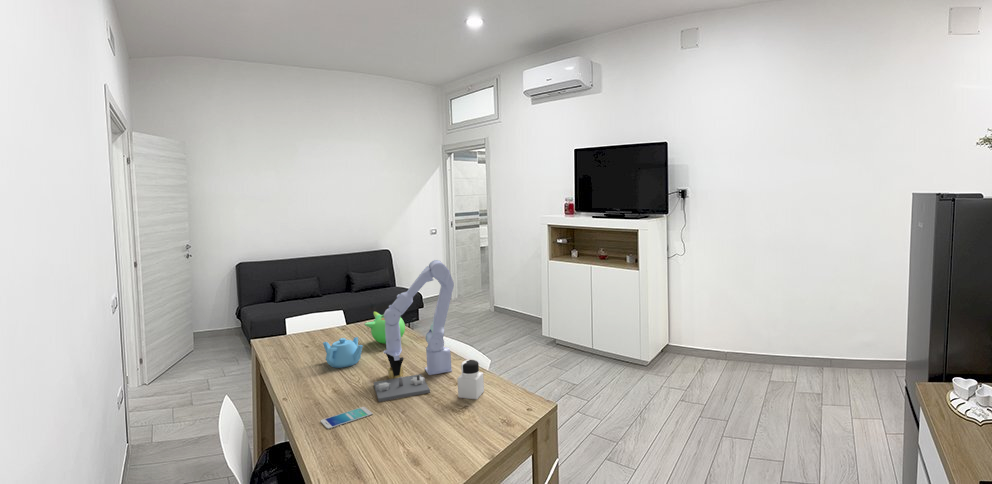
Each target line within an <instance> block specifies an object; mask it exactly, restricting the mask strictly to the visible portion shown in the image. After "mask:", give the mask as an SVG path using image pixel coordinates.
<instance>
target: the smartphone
mask: <svg viewBox="0 0 992 484" xmlns="http://www.w3.org/2000/svg"><path fill="white" fill-rule="evenodd" d="M367 416H368V417H370V416H373V411H370V410H369V409H368V408H367V407H366V406H361V407H357V408H353V409H351V410H348V411H344V412H341V413H339V414H336V415H332V416H329V417H325V418H323V419H321V420H320V422H321V423H322V424H323V425H324V426H325V427H326V428H327V429H329V430H331V428H332V429H334V427H335V428H338V427H337V426H339V427H341V426H340V425H342V426H344V424H345V425H347V424H349V423H353V422H356V421H359V420H362V419H364V417H365V418H367ZM361 418H362V419H361ZM358 419H359V420H358ZM321 423H320V424H321ZM346 423H347V424H346ZM322 424H321V425H322ZM323 425H322V426H323ZM324 426H323V427H324ZM325 427H324V428H325ZM326 428H325V429H326ZM327 429H326V430H327Z"/></svg>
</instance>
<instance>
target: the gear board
mask: <svg viewBox="0 0 992 484" xmlns="http://www.w3.org/2000/svg"><path fill="white" fill-rule="evenodd" d="M373 387H374V390H375V394H376V397H377V400H378V403H380V402H385V401H391V400H396V399H397V400H398V399H401V398H408V397H413V396H418V395H423V394H425V395H426V394H429V393H431V389H430V387H429V385H428V383H427V382H426V378H425V377H423V375H422V374H420V373H419V374H413V375H408V376H402V377H399V378H395V379H390V378H389V379H384V380H383V379H382V380H377V381H373Z"/></svg>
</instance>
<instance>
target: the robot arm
mask: <svg viewBox="0 0 992 484" xmlns="http://www.w3.org/2000/svg"><path fill="white" fill-rule="evenodd" d="M434 279H435V280H437V281H438V283H439V285H440V289H439V294H438V297H437V302H436V305H435V306H436V307H435V311H434V314H433V319H432V323H431V324H430V328H429V330H428V332H427V333H426V335H425V341H426V343H427V346H426V347H425V352H426V354H425V355H426V367H424V371H426V373H427V375H429V376H431V375H437V374H438V375H439V374H443V373H450V372H453V369H452V368H453V367H452V355H451V350H450V347H448V346H446V347H445V340H444V335H445V324H446V321H447V317H448V316H447V315H448V313H449V312H448V311H449V308H450V304H451V300H452V294H453V290H454V287H455V282H454V280H453V278H452V274H451V271H450V269H449V268H448V267H447V266H446V265H445V264H444V263H443V262H442V261H441V260H438V259H434V260H432V261H431V262H430V263H429V264H428V265H427V266H425V268H424V269H423V270H422V271H421V272H420V273H419V275H418V276H417V278H416V279H415V280H414V282H413V283H412V284H411V285H410V287H409V288H408V289H407V291H404V292H401V293H399V294H397V295H396V299H395V300H394V301H393V302H392V303H391V304H389V305H388V308H387V309H385V311H384V312H383V314H384V319H385V336H386V344H385V347H386V349H385V350H383V354H385V356H386V357H387V360H388V362H389V367H392V370H393V374H394V376H398V375H400V369H401V366H402V363H403V362H404V359H405V358H404V357H403V356H402V357H401V354H402V352H403V349H402V348H403V347H402V341H401V340H402V337H401V335H400V326H399V321H400V317H402V316H403V315H404V314H405V313H406V311H407V310H408V309H409V307H410V306H411V305H412V304H413V303H414V300H413V299H414V297H415V295H416V294H417V293H418V292H419V291H420V290H421V289H422V288H423V287H424V285H426V283H429V282H433V281H434Z"/></svg>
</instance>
